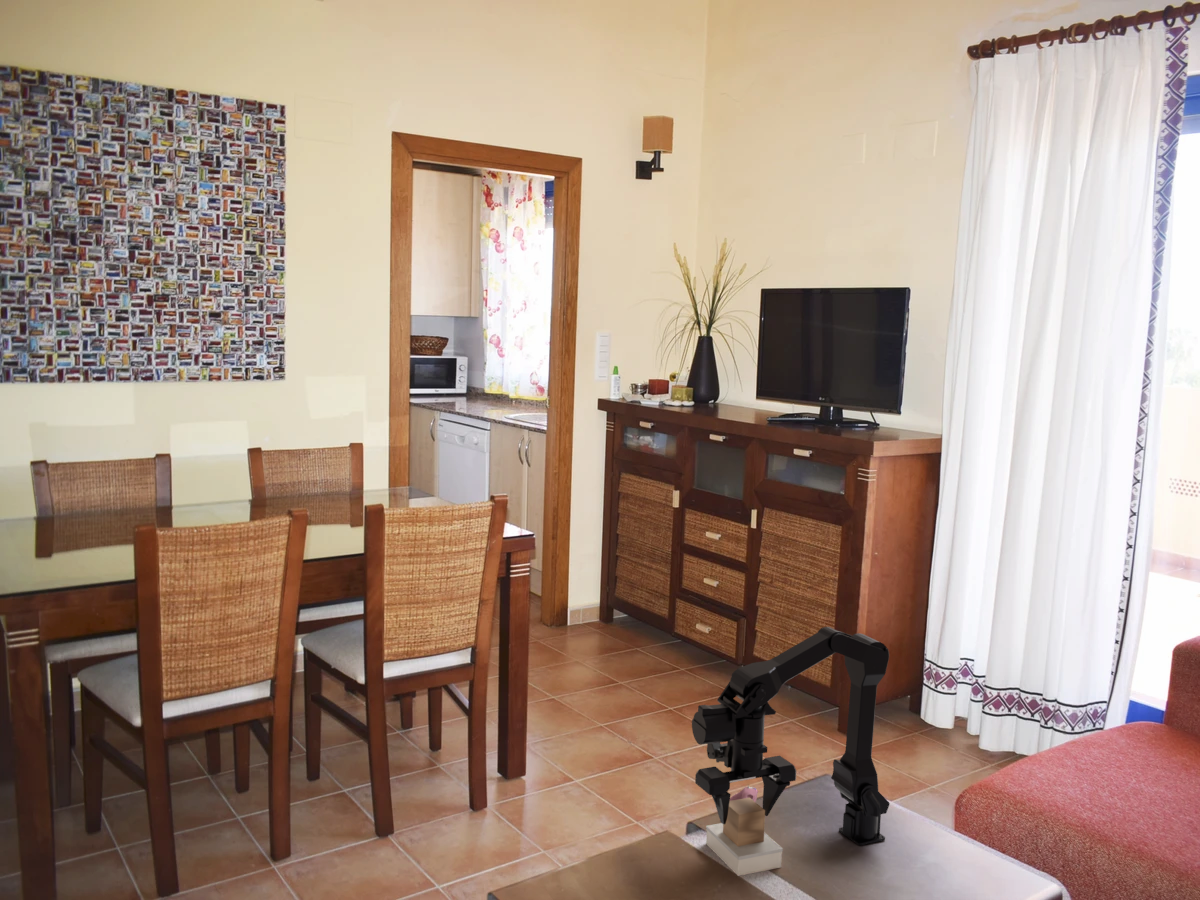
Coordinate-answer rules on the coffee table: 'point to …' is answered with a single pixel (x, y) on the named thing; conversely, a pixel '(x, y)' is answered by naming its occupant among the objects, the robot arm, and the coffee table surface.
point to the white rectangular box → (744, 852)
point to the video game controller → (746, 794)
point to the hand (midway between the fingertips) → (744, 819)
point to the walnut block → (745, 822)
